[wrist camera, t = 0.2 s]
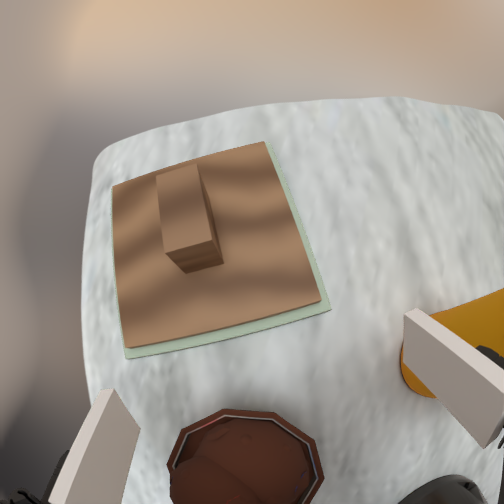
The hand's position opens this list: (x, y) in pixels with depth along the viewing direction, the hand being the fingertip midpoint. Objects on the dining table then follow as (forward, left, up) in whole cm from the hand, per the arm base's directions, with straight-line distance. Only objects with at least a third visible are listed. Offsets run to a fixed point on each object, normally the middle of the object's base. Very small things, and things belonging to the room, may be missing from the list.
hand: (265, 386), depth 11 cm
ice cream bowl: (-7, +3, -17) cm, 18 cm away
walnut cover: (+15, +3, -16) cm, 22 cm away
